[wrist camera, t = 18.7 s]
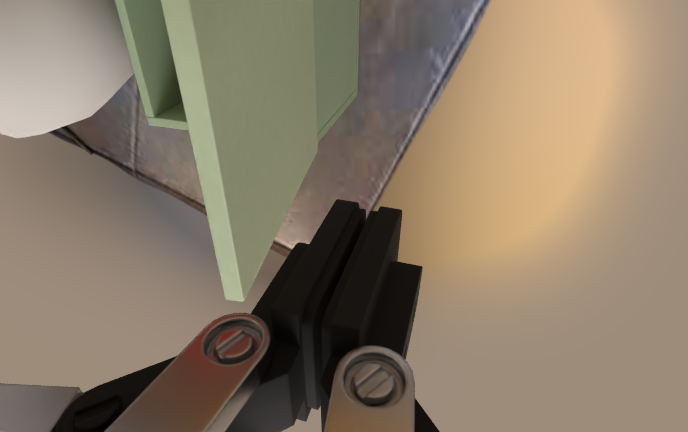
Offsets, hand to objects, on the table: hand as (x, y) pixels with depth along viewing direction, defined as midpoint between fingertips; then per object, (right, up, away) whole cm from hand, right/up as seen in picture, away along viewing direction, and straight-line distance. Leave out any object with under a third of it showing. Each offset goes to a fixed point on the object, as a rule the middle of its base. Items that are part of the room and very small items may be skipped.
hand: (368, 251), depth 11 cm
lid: (-4, +6, +8) cm, 11 cm away
